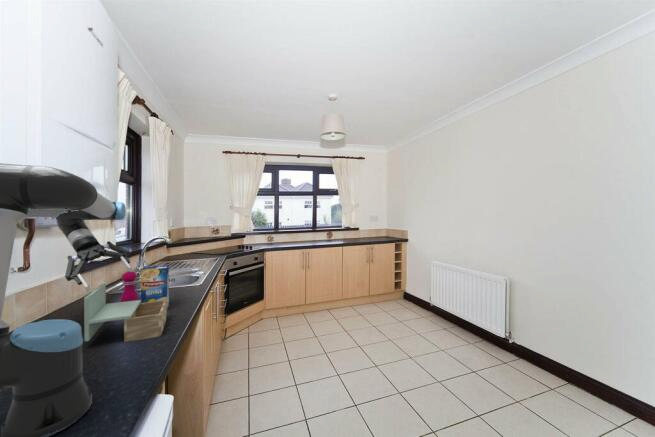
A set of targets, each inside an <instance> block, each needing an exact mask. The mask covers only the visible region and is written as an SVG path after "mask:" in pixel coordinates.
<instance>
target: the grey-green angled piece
mask: <svg viewBox="0 0 655 437" xmlns="http://www.w3.org/2000/svg"><path fill="white" fill-rule="evenodd" d="M106 286H107V285H106V283H102V284H100V285H99V286H97V287H96V288H95V289H94V290H92V291H91V292H90V293H89V294H87V295H86V296H84V297H83V303H84V304H83V309H84V310H83V312H84V314H83V316H84V317H83V320H84V328H83V330H84V342H90V340H91V339H92V338H93V337H94V335H95V334H96V333H97V332H98V331H99V329H100V328H101V327H102V326H103V325H104V323H106V322H111V321H120V320H124V319H128V318H131V317H132V316H133V314H134V312H135V311H136V309H137V308H138V306H139V305H140V303H141V299H137V300H136V301H127V302H121V301H119V302H110V303H106V302H107V300H106V299H107V296H106V295H107V294H106V293H107V292H106V288H107V287H106Z"/></svg>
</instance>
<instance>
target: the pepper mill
mask: <svg viewBox="0 0 655 437" xmlns="http://www.w3.org/2000/svg"><path fill="white" fill-rule="evenodd" d="M136 279H137V273H136V272H135V271H129V270H128V269H127V270H126V272H124V273H123V274H122V276H121V280H122V281H123V282H122V285H123V286H124V288H123V292H122V294H121V296H120V302H127V301H136V300H139V297H138V296H139V295H138V293H137V291H136V289H135V284H136Z"/></svg>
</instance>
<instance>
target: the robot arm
mask: <svg viewBox="0 0 655 437" xmlns="http://www.w3.org/2000/svg"><path fill="white" fill-rule="evenodd" d="M65 208H67V209H71V210H79V211H73V212H68V213H63V214H60V215H59V216H58V217H55V216H54V218H55V221H56V224H57V227H58V228H59V230H60V231H61V232H62V233H63V235H64V236H65V238H66V239H67V241H68V242H69V244H70V246H71V247H72V248H73V250H74V251H75V253H76V254H75V255H73V256H72V255H68V256H67V257H66V258H67V260H68V262H67V265H66V270H65V273H64V274H65V275H64V278H65V279H66V281H68V282H71V281H72V280H74V281H75V282H76V284H77V285H78V286H81V285H83V286H84V288H85V290H86V292H88V291H90V287H89V285H88V284H87V282H86V281H85V280H84V278H83V277H82V275H81V274H82V273H83V271H84V269H85V268H86V266H87V265H88V263H89V261H91V262H93V261H94V260H96V259H99V258H101V257H105V258H106V257H109V258H114V259H119V260H121V262H122V263H123V265H124V267H125V268H126V269H127V270H129V271H131V272H133V271H132V266H130V264H131V262H130V259H129V258H128V257H130V256H131V252H130V250H129V249H126V248H123V247H121V246H119V245H117V244H114V243H112V242H111V241H109V240H108V241H106V243H105V244H101V243H100V242H99V240H98V239H97V238H96V237H95V236H94V234H93V233H92V231H91V229H89V226H87V223H86V222H85V221H86V220H87V221H95V220H96V221H122V220H124V219H125V218H126V215H127V214H126V212H127V209H126V205H125V203H124V202H121V201H111V200H110V199H108V198H107V197H105V196H103V194H101V193H100V192H98V190H97V188H96V187H95V186H94V184H92V183H91V182H89V181H87V180H86V179H84V178H83V177H80V176H78V175H75V174H74V173H71V172H68V171H66V170H63V169H58V168H55V167H50V166H43V165H30V164H28V165H27V164H16V163H15V164H13V163H0V390H4V389H7V388H8V389H9V388H11V389H12V395H11V396H12V400H11V403H10V406H9V409H8V411H7V414H6V418H5V420H3V423H2V425H1V428H0V437H41V436H43V435H45V434H48V433H52V432H54V431H56V430H59V429H61V428H63V427H65V426H67V425H69V424H70V423H72V422H74V421H75V420H77V419H78V418H80V417H81V416H82V415H83V414H84V413H85V412H86V411H87V410H88V409H89V408H90V406H91V404H92V405H93V395H92V394H93V393H92V392H91V390H90V389H89V387H88V385H87V382H86V380H85V379H84V376H83V363H84V362H83V344H84V336H83V333H82V332H83V331H82V326H81V324H80V323H78V322H77V321H74V320H70V319H65V318H61V319H60V318H56V319H46V320H45V319H43V320H39V321H37V322H29V323H26V324H23V325H20V326H18V327H17V328H15V329H13V331H12V332H11V333H10V326H11V324H8V323H7V322H5V321H4V320H3V319H2V317H3V316H2V315H3V310H4V303H5V296H6V291H7V287H8V285H7V284H8V281H9V280H8V279H9V275H10V274H9V273H10V268H11V263H12V262H11V260H12V255H13V249H14V244H15V237H16V232H17V224H18V223H20V222H21V221H23V220H25V219H28V212H29V210H51V209H65ZM107 249H108V250H107ZM77 259H79V262H78V264H77V266H76V267H75V264H76V262H77ZM91 407H92V406H91ZM90 409H91V408H90Z"/></svg>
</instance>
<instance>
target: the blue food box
mask: <svg viewBox="0 0 655 437" xmlns="http://www.w3.org/2000/svg"><path fill="white" fill-rule="evenodd" d="M169 269H170V265H169V264H163V265H149V266H148V265H147V266H143V267H142V268H141V269H140V300H141V303H146V302H154V301H163V300H166V312H167V311H168V310H169V307H170V303H169V302H170V300H169V299H170V298H169V297H170V294H169V293H170V290H169V289H170V281H169V280H170V278H169V277H170V275H169V274H170V272H169V271H170V270H169Z"/></svg>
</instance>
